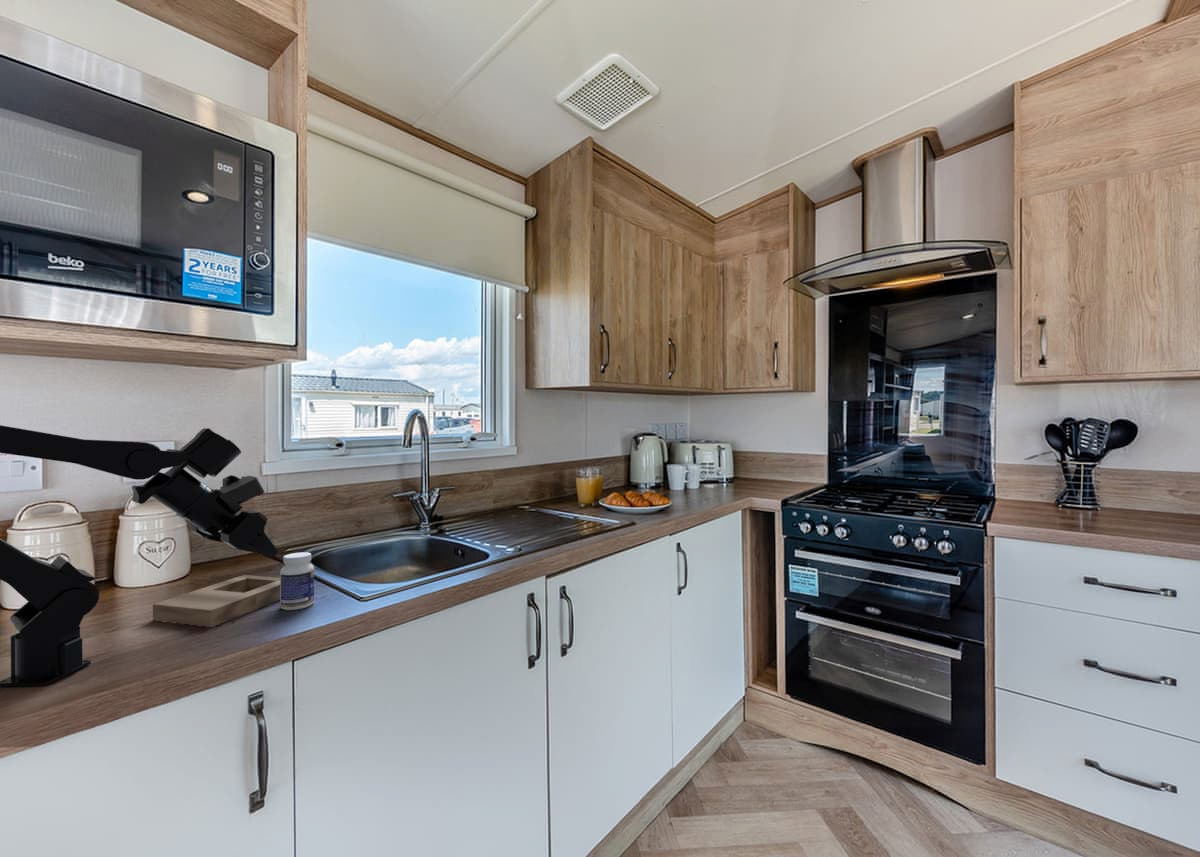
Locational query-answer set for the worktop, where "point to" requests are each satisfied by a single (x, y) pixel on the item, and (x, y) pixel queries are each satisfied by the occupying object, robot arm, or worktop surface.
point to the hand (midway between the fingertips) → (264, 550)
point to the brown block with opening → (219, 601)
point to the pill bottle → (296, 581)
